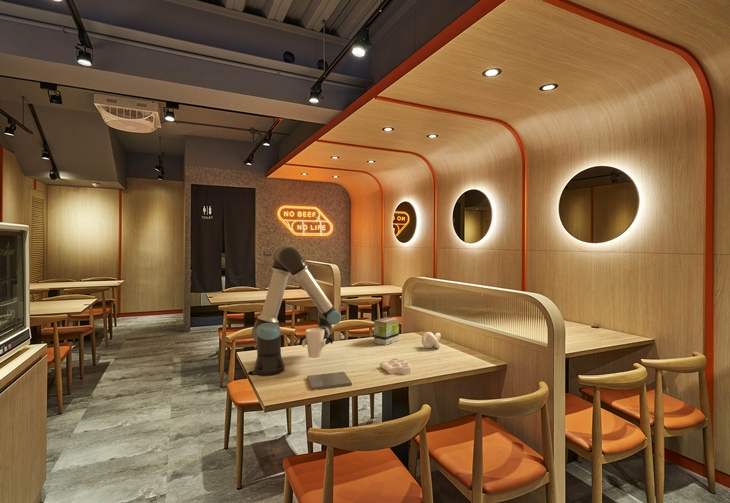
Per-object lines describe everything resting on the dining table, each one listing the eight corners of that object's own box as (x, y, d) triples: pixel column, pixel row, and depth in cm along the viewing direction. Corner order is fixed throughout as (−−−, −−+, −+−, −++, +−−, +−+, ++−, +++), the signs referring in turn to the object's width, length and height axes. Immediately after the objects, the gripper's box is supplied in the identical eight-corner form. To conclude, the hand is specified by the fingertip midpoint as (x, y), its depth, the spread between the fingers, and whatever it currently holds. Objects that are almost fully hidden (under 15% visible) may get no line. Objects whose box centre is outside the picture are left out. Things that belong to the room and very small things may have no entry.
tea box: (386, 345, 239) (386, 322, 239) (373, 343, 245) (373, 320, 245) (399, 340, 251) (399, 318, 251) (386, 338, 257) (386, 316, 257)
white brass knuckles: (377, 366, 199) (402, 362, 205) (391, 377, 183) (418, 373, 188) (377, 360, 199) (402, 356, 205) (391, 370, 183) (418, 366, 188)
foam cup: (326, 353, 196) (326, 328, 196) (322, 358, 187) (322, 332, 187) (307, 353, 197) (308, 328, 197) (303, 358, 188) (303, 331, 188)
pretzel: (420, 349, 229) (420, 334, 228) (423, 344, 240) (423, 330, 240) (439, 350, 225) (439, 335, 225) (441, 345, 237) (441, 331, 237)
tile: (311, 390, 167) (311, 387, 167) (307, 378, 182) (307, 375, 182) (351, 385, 172) (351, 382, 172) (344, 374, 187) (344, 371, 187)
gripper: (341, 341, 209) (335, 352, 187) (301, 340, 211) (291, 351, 189) (341, 327, 209) (335, 337, 187) (301, 326, 211) (291, 336, 189)
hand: (313, 344), depth 188 cm, fingers closed on foam cup, 9 cm apart
